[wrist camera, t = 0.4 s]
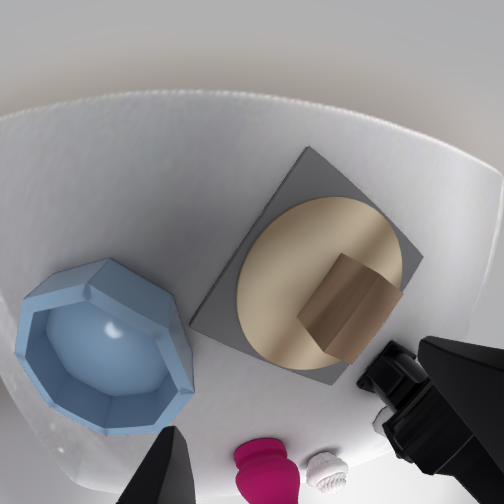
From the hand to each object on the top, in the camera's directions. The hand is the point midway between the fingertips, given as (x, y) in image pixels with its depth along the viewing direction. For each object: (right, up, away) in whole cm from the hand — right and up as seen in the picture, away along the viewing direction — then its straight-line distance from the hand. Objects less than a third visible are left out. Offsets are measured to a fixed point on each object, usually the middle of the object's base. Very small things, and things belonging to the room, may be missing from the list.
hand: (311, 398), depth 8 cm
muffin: (+8, -25, +23) cm, 35 cm away
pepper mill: (-1, -20, +19) cm, 28 cm away
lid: (+4, +2, +14) cm, 15 cm away
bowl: (-14, -2, +12) cm, 18 cm away
